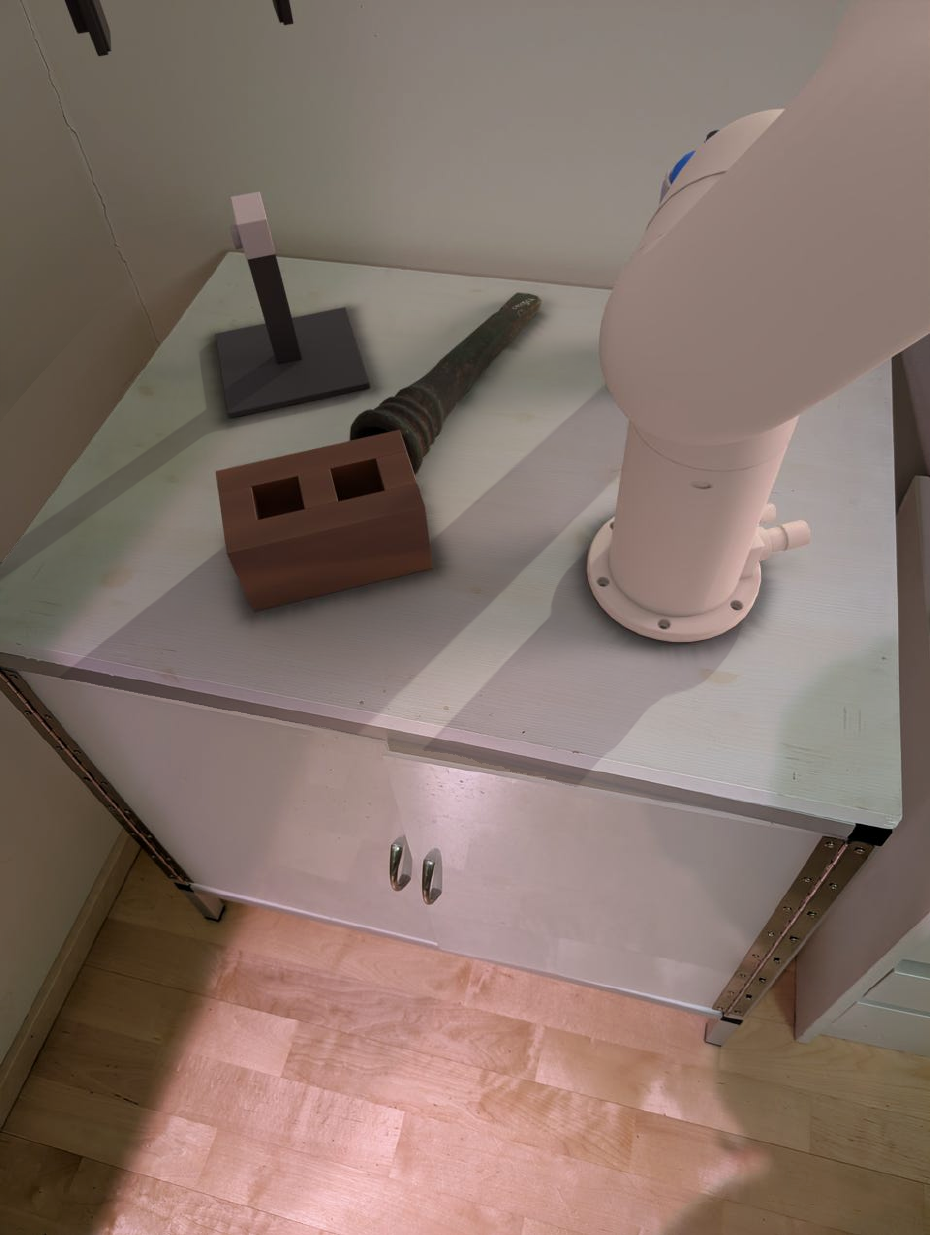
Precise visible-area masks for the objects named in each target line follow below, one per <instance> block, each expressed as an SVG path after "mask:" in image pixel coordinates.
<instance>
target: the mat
mask: <svg viewBox="0 0 930 1235" xmlns="http://www.w3.org/2000/svg"><path fill="white" fill-rule="evenodd" d="M292 320H293V324H294V328H295V332H296V336H297V340H298V343H299V347H300V351H301V355H302V359H301V360H296V361H292V362H287V363H282V364H277V362H276V358H275V355H274V351H273V348H272V345H271V341H270V338H269V334H268V331H267V327H266V324H265V323H261V324H260V323H259V324H256V325H252V326H247V327H242V328H237V329H236V328H235V329H231V330H227V331H221V332H218V333H215V334H214V335H215V336H214V337H215V344H216V349H217V355H218V361H219V368H220V374H221V380H222V388H223V393H224V401H225V405H226V406H225V407H226V412H227V417H228V418H229V419H233V418H237V417H241V416H246V415H250V414H256V413H261V412H265V411H270V410H274V409H278V408H279V409H280V408H282V407H288V406H293V405H297V404H301V403H307V402H310V401H315V400H319V399H324V398H328V397H334V396H339V395H342V394H348V393H352V392H357V391H361V390H365V389H370V388H371V384H370V380H369V377H368V374H367V371H366V368H365V364H364V360H363V358H362V355H361V352H360V348H359V345H358V342H357V340H356V336H355V333H354V329H353V325H352V323H351V320H350V316H349V314H348V309H347V307H346V306H344V307H343V306H342V307H338V308H334V309H328V310H325V311H319V312H314V313H309V314H304V315H299V316H296V317H292Z"/></svg>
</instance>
